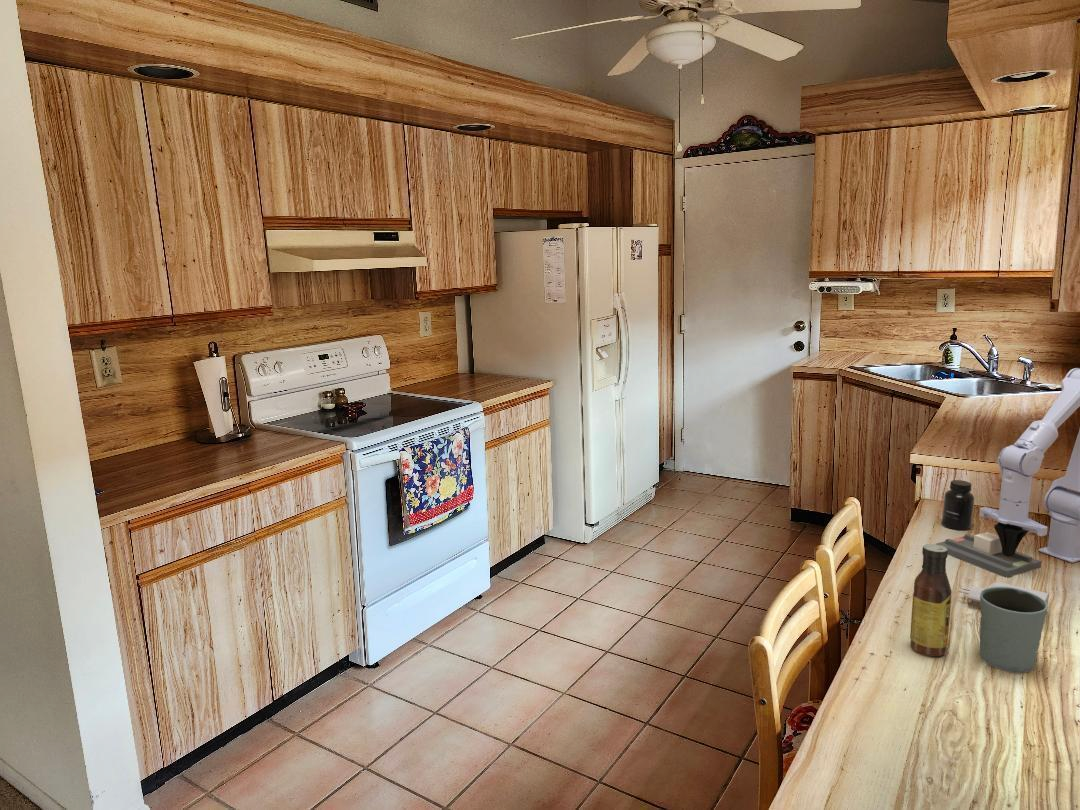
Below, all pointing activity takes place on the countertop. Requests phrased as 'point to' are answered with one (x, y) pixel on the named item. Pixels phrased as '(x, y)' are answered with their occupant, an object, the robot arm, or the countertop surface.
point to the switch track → (989, 557)
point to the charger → (976, 591)
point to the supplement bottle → (958, 506)
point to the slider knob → (987, 543)
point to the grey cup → (1010, 628)
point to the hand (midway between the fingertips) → (1008, 555)
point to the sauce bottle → (931, 603)
